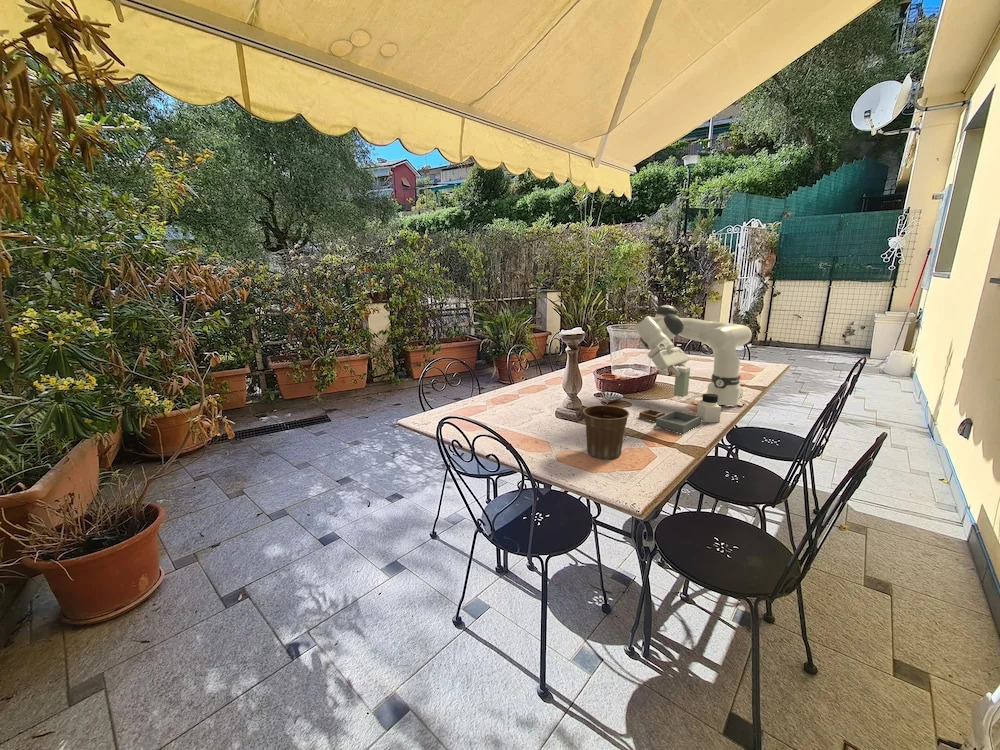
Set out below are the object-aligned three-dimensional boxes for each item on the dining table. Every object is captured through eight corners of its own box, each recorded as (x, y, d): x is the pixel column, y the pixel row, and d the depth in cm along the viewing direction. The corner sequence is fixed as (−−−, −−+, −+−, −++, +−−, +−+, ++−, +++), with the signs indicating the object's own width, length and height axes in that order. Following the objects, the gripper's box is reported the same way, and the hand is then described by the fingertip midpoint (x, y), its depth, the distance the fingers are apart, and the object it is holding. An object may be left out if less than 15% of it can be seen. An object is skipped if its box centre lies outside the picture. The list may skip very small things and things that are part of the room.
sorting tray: (674, 418, 187) (674, 410, 186) (700, 425, 178) (701, 416, 178) (655, 426, 177) (656, 418, 176) (682, 434, 168) (683, 425, 168)
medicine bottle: (719, 422, 181) (722, 396, 178) (703, 422, 181) (706, 396, 178) (711, 416, 188) (714, 391, 185) (696, 417, 188) (698, 391, 185)
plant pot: (594, 440, 164) (595, 402, 160) (633, 450, 154) (636, 409, 150) (573, 454, 152) (574, 413, 148) (615, 466, 142) (617, 422, 138)
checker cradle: (648, 413, 194) (648, 407, 193) (664, 418, 188) (665, 412, 187) (639, 417, 189) (639, 411, 188) (655, 422, 183) (656, 416, 182)
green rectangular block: (678, 393, 177) (680, 366, 175) (687, 395, 174) (690, 367, 172) (673, 395, 175) (676, 367, 172) (683, 397, 172) (685, 369, 169)
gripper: (669, 349, 186) (689, 374, 181) (645, 355, 173) (665, 382, 168) (680, 340, 182) (700, 365, 177) (655, 346, 169) (676, 373, 164)
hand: (683, 374), depth 172 cm, fingers closed on green rectangular block, 4 cm apart
